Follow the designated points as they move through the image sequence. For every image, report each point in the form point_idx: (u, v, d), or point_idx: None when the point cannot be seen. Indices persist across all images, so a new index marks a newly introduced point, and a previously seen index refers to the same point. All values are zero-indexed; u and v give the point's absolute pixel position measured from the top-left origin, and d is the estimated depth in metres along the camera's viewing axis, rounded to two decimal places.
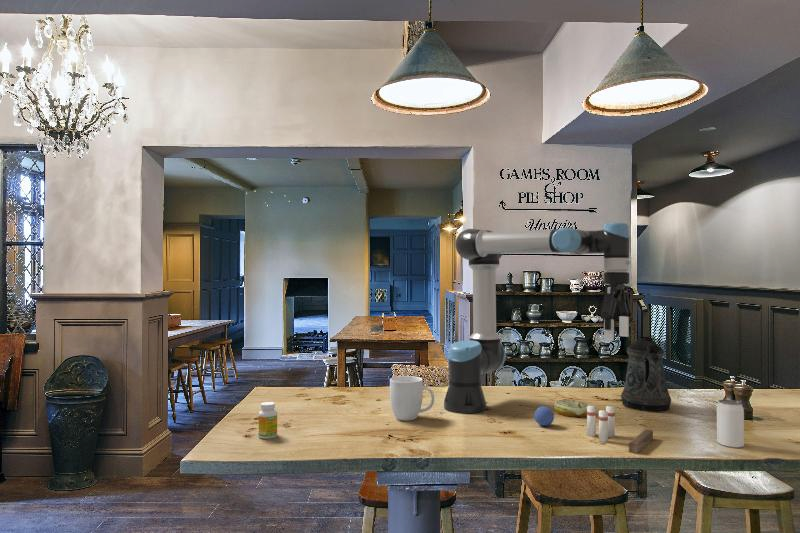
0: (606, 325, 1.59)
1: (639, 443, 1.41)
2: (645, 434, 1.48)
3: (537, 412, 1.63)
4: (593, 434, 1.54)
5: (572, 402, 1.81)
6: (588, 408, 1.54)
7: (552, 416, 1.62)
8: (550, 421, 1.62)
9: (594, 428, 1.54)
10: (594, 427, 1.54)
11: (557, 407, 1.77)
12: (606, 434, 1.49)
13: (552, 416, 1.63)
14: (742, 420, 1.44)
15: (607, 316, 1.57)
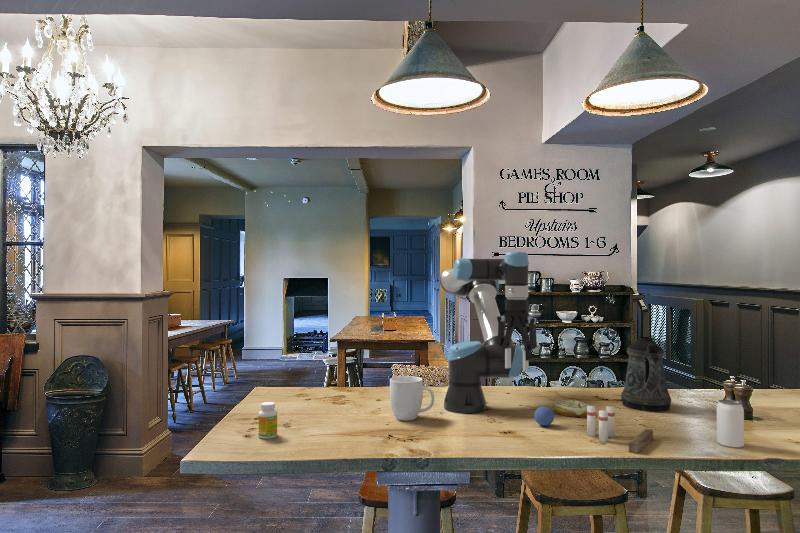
0: None
1: (639, 443, 1.41)
2: (645, 434, 1.48)
3: (537, 412, 1.63)
4: (593, 434, 1.54)
5: (572, 402, 1.81)
6: (588, 408, 1.54)
7: (552, 416, 1.62)
8: (550, 421, 1.62)
9: (594, 428, 1.54)
10: (594, 427, 1.54)
11: (557, 407, 1.77)
12: (606, 434, 1.49)
13: (552, 416, 1.63)
14: (742, 420, 1.44)
15: None
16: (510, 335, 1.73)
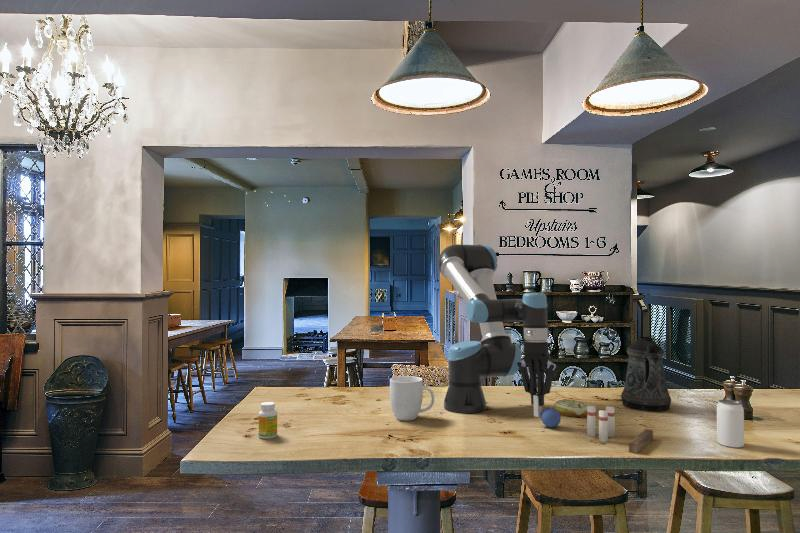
0: None
1: (639, 443, 1.41)
2: (645, 434, 1.48)
3: (547, 413, 1.61)
4: (593, 434, 1.54)
5: (572, 402, 1.81)
6: (588, 408, 1.54)
7: (558, 423, 1.61)
8: (554, 426, 1.61)
9: (594, 428, 1.54)
10: (594, 427, 1.54)
11: (557, 407, 1.77)
12: (606, 434, 1.49)
13: None
14: (742, 420, 1.44)
15: None
16: (535, 379, 1.66)
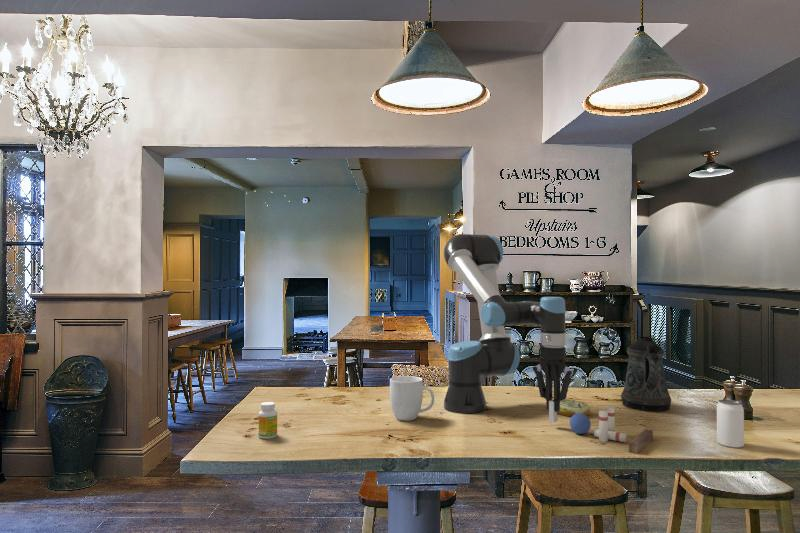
0: None
1: (639, 443, 1.41)
2: (645, 434, 1.48)
3: (577, 431, 1.55)
4: None
5: (572, 402, 1.81)
6: (622, 439, 1.47)
7: None
8: (573, 416, 1.57)
9: None
10: None
11: None
12: (606, 434, 1.49)
13: None
14: (742, 420, 1.44)
15: None
16: (551, 385, 1.63)
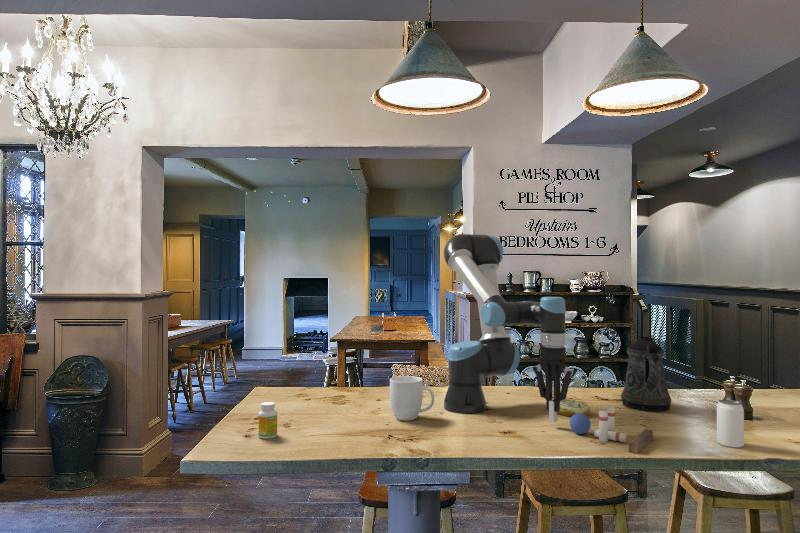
0: None
1: (639, 443, 1.41)
2: (645, 434, 1.48)
3: (577, 431, 1.55)
4: None
5: (572, 402, 1.81)
6: (622, 439, 1.47)
7: None
8: (573, 416, 1.57)
9: None
10: None
11: None
12: (606, 434, 1.49)
13: None
14: (742, 420, 1.44)
15: None
16: (551, 385, 1.63)
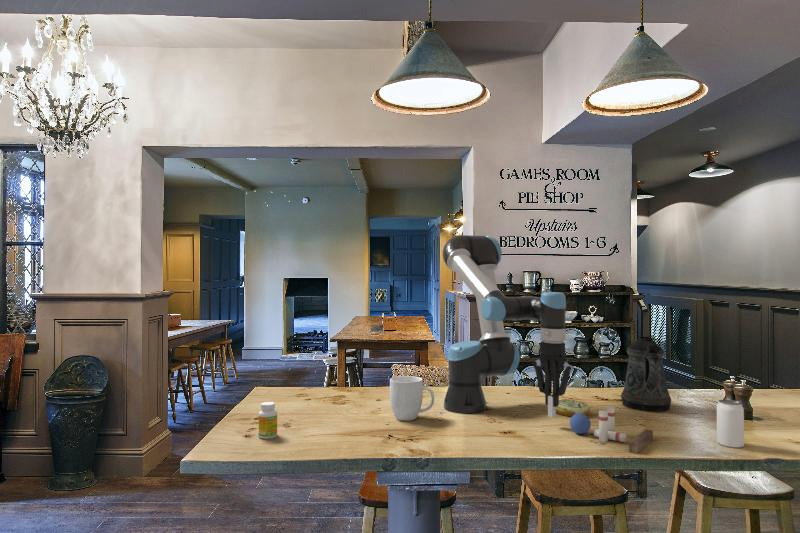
0: None
1: (639, 443, 1.41)
2: (645, 434, 1.48)
3: (577, 431, 1.55)
4: None
5: (572, 402, 1.81)
6: (622, 439, 1.47)
7: None
8: (573, 416, 1.57)
9: None
10: None
11: (557, 407, 1.77)
12: (606, 434, 1.49)
13: None
14: (742, 420, 1.44)
15: None
16: (550, 380, 1.64)
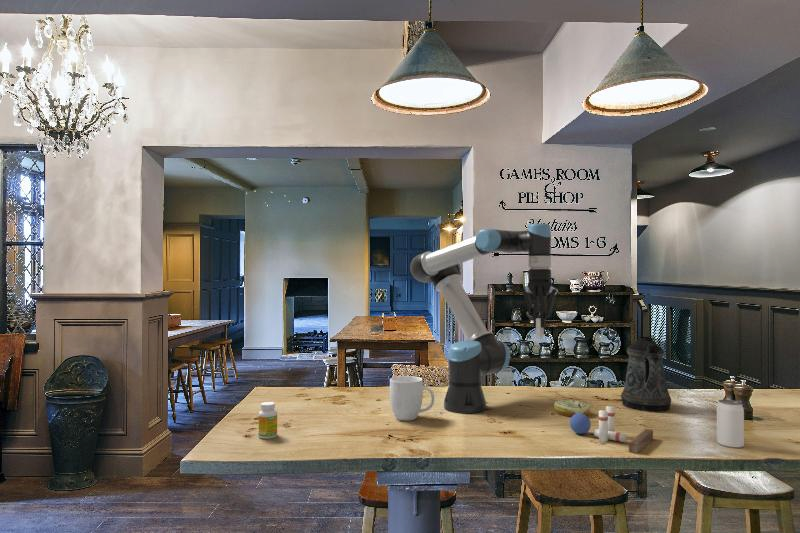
0: None
1: (639, 443, 1.41)
2: (645, 434, 1.48)
3: (577, 431, 1.55)
4: None
5: (572, 402, 1.81)
6: (622, 439, 1.47)
7: None
8: (573, 416, 1.57)
9: None
10: None
11: (557, 407, 1.77)
12: (606, 434, 1.49)
13: None
14: (742, 420, 1.44)
15: None
16: (538, 304, 1.79)
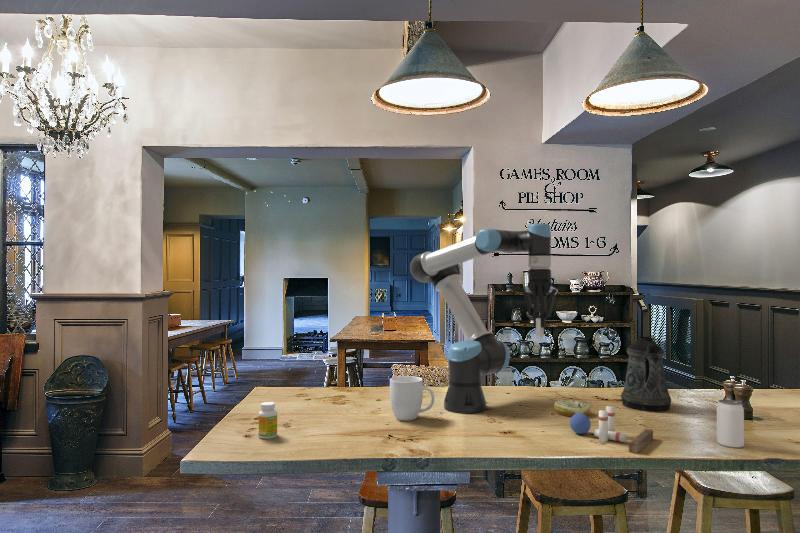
0: None
1: (639, 443, 1.41)
2: (645, 434, 1.48)
3: (577, 431, 1.55)
4: None
5: (572, 402, 1.81)
6: (622, 439, 1.47)
7: None
8: (573, 416, 1.57)
9: None
10: None
11: (557, 407, 1.77)
12: (606, 434, 1.49)
13: None
14: (742, 420, 1.44)
15: None
16: (538, 304, 1.79)
